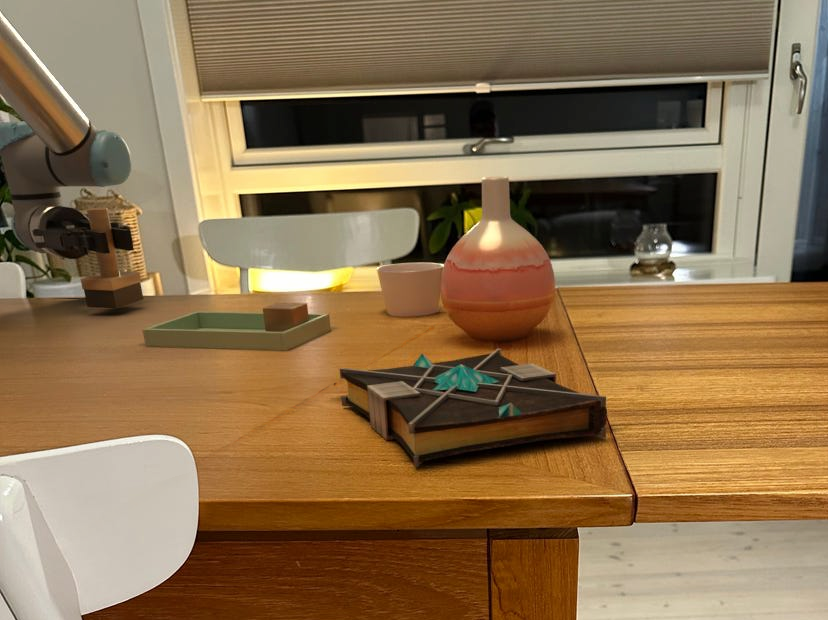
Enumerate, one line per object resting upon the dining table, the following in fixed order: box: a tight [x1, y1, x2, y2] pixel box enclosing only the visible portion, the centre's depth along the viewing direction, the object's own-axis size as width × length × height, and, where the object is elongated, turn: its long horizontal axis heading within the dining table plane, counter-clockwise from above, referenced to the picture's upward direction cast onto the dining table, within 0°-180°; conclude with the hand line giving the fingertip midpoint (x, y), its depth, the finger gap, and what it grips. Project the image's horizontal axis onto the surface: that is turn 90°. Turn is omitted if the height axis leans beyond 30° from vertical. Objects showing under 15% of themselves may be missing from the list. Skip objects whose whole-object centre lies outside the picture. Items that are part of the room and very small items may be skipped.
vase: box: [440, 176, 556, 343], centre depth 112 cm, size 14×14×18 cm
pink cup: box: [376, 262, 444, 318], centre depth 130 cm, size 9×9×6 cm
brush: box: [80, 207, 144, 309], centre depth 140 cm, size 5×7×13 cm
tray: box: [142, 310, 332, 352], centre depth 118 cm, size 19×12×3 cm, turn 73°
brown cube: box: [262, 302, 309, 332], centre depth 116 cm, size 4×4×4 cm
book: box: [339, 348, 608, 468], centre depth 83 cm, size 22×17×5 cm
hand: (117, 241), depth 135 cm, fingers closed on brush, 3 cm apart
